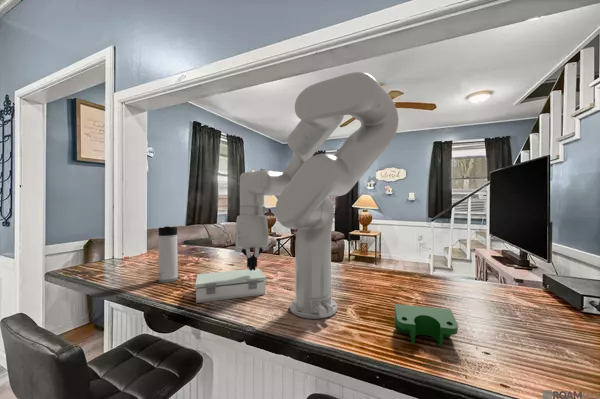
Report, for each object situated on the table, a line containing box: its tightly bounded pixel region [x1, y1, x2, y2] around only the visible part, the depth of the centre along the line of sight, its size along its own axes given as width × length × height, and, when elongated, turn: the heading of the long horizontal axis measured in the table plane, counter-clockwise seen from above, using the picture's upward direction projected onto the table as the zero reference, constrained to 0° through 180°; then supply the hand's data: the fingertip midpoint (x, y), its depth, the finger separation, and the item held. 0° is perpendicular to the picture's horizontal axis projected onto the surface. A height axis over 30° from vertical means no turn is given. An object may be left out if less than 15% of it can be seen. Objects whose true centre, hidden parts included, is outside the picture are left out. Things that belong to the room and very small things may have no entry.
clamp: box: [394, 303, 459, 348], centre depth 54 cm, size 12×6×9 cm, turn 69°
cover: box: [194, 268, 267, 289], centre depth 82 cm, size 14×20×1 cm
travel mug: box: [157, 225, 179, 284], centre depth 95 cm, size 6×7×20 cm
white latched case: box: [195, 280, 267, 304], centre depth 82 cm, size 13×20×4 cm, turn 109°
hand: (252, 269), depth 82 cm, fingers closed
